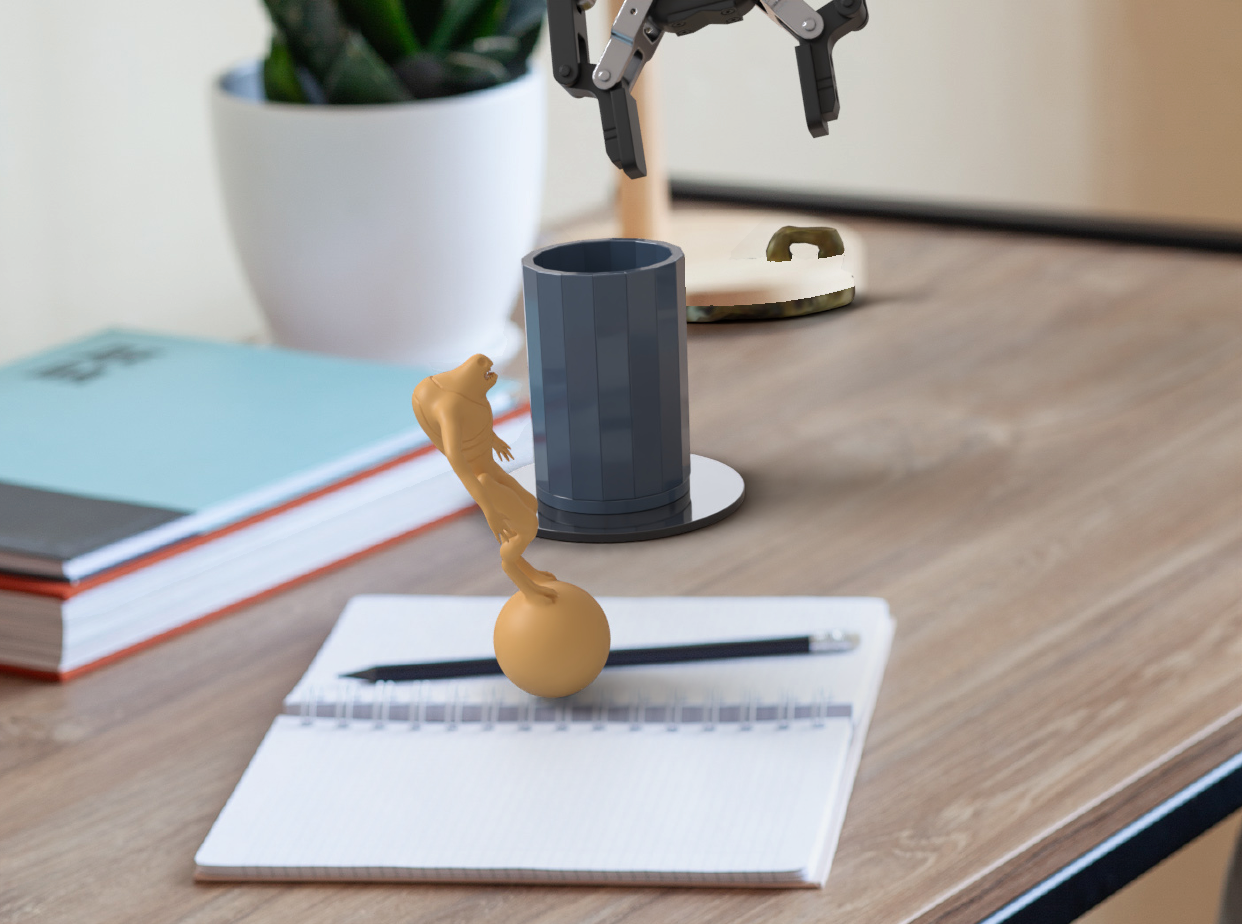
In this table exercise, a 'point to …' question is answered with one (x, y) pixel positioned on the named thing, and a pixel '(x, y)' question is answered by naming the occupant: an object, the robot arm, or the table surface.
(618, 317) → the cup
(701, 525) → the coaster
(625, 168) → the robot arm
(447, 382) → the figurine
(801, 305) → the seal
